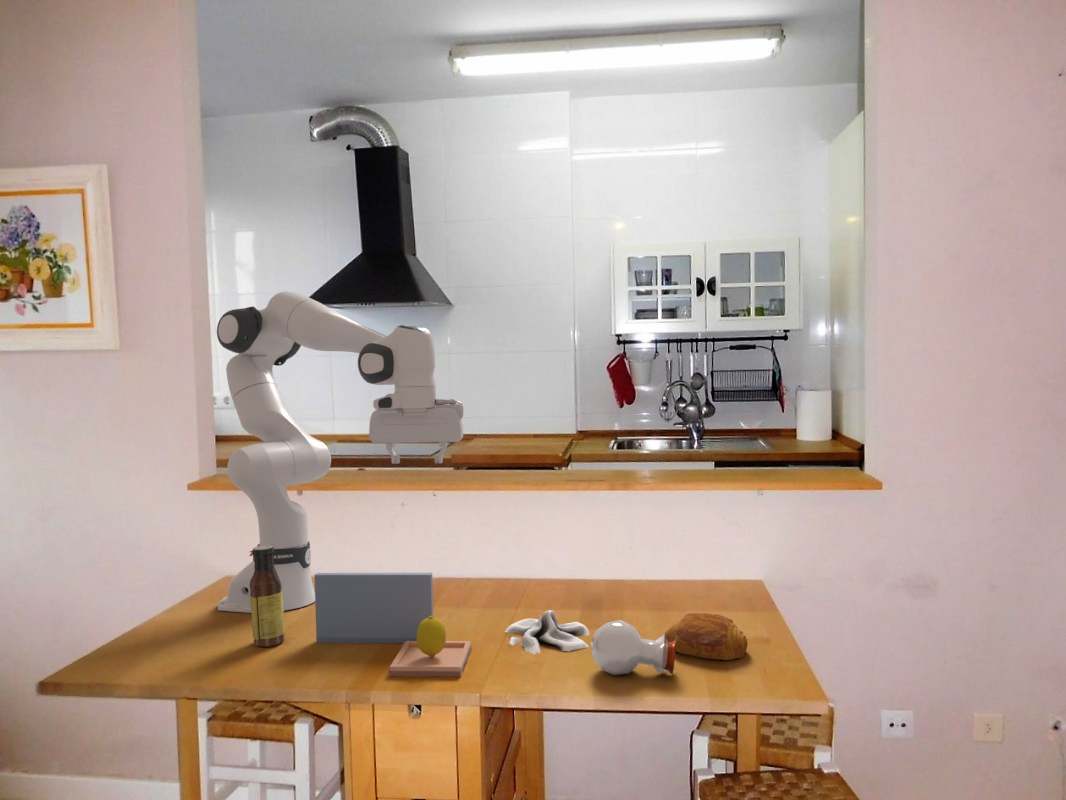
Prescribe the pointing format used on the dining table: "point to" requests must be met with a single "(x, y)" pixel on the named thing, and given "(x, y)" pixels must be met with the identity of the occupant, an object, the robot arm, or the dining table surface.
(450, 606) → the dining table surface
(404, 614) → the screen
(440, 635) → the lemon
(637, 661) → the potion bottle
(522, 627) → the cloth
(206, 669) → the dining table surface
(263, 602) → the sauce bottle
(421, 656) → the dish
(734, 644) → the croissant
